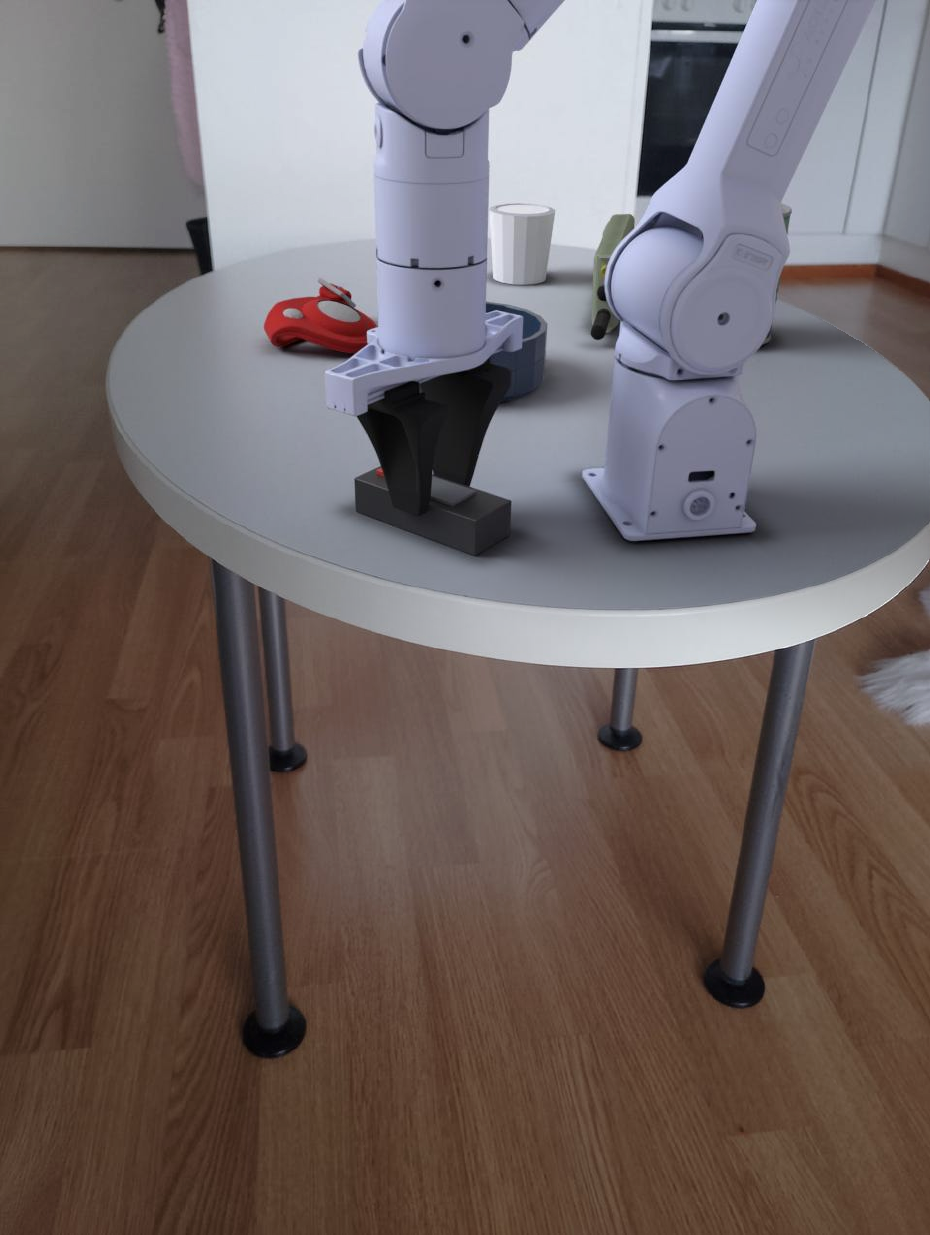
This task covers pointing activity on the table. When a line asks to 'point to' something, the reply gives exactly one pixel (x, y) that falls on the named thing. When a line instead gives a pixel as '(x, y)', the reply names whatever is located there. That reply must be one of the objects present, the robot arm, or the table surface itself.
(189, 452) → the table surface
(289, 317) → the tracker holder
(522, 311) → the bowl
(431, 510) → the remote
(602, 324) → the handheld radio
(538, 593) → the table surface
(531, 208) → the white cup
